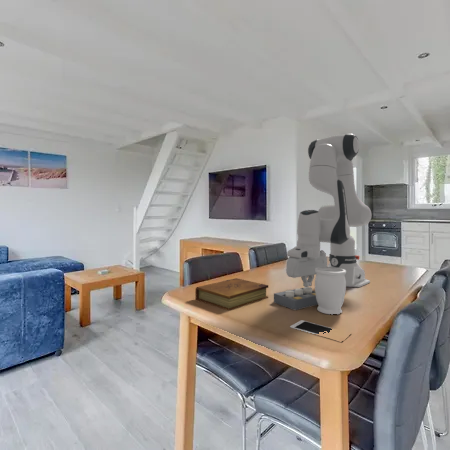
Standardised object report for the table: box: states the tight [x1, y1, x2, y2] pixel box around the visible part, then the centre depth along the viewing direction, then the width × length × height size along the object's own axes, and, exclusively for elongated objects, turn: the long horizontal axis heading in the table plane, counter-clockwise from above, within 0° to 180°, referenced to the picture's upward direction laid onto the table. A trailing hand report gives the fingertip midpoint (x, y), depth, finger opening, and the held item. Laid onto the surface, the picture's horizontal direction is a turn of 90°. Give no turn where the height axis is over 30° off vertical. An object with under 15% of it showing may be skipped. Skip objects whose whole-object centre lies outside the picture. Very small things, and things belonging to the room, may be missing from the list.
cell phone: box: [289, 319, 332, 335], centre depth 90 cm, size 8×16×1 cm, turn 48°
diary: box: [194, 277, 269, 311], centre depth 123 cm, size 23×19×6 cm
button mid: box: [294, 288, 303, 296], centre depth 117 cm, size 3×3×3 cm
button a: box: [285, 289, 294, 298], centre depth 115 cm, size 3×3×3 cm
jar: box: [314, 267, 347, 316], centre depth 108 cm, size 11×10×15 cm
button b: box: [303, 286, 313, 294], centre depth 120 cm, size 3×3×3 cm
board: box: [273, 287, 319, 311], centre depth 117 cm, size 16×11×4 cm
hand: (307, 286), depth 120 cm, fingers closed
